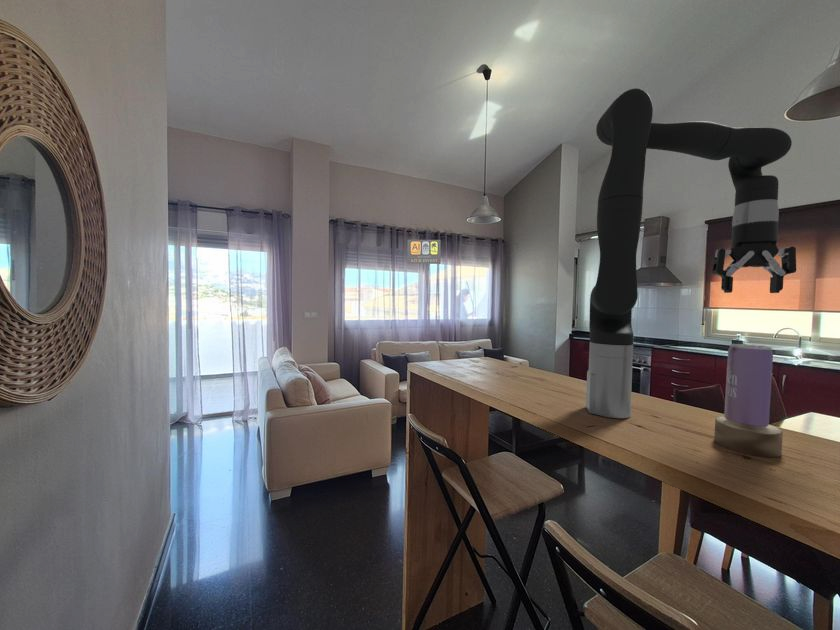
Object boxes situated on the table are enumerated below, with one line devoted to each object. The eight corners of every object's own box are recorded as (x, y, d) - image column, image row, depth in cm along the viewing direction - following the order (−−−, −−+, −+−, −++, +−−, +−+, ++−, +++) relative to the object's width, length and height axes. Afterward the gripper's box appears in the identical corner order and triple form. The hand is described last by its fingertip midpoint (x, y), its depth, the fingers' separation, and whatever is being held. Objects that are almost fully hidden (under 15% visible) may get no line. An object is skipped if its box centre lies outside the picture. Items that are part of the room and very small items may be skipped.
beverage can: (778, 431, 58) (783, 348, 58) (739, 428, 60) (743, 346, 59) (751, 420, 64) (756, 344, 64) (716, 417, 65) (720, 343, 65)
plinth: (729, 452, 59) (730, 429, 59) (705, 434, 68) (706, 414, 68) (795, 461, 56) (796, 437, 56) (761, 441, 65) (762, 420, 64)
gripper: (724, 221, 75) (721, 292, 76) (807, 217, 70) (803, 292, 71) (708, 229, 82) (705, 293, 83) (783, 225, 77) (779, 293, 78)
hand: (750, 292), depth 77 cm, fingers open, 8 cm apart
